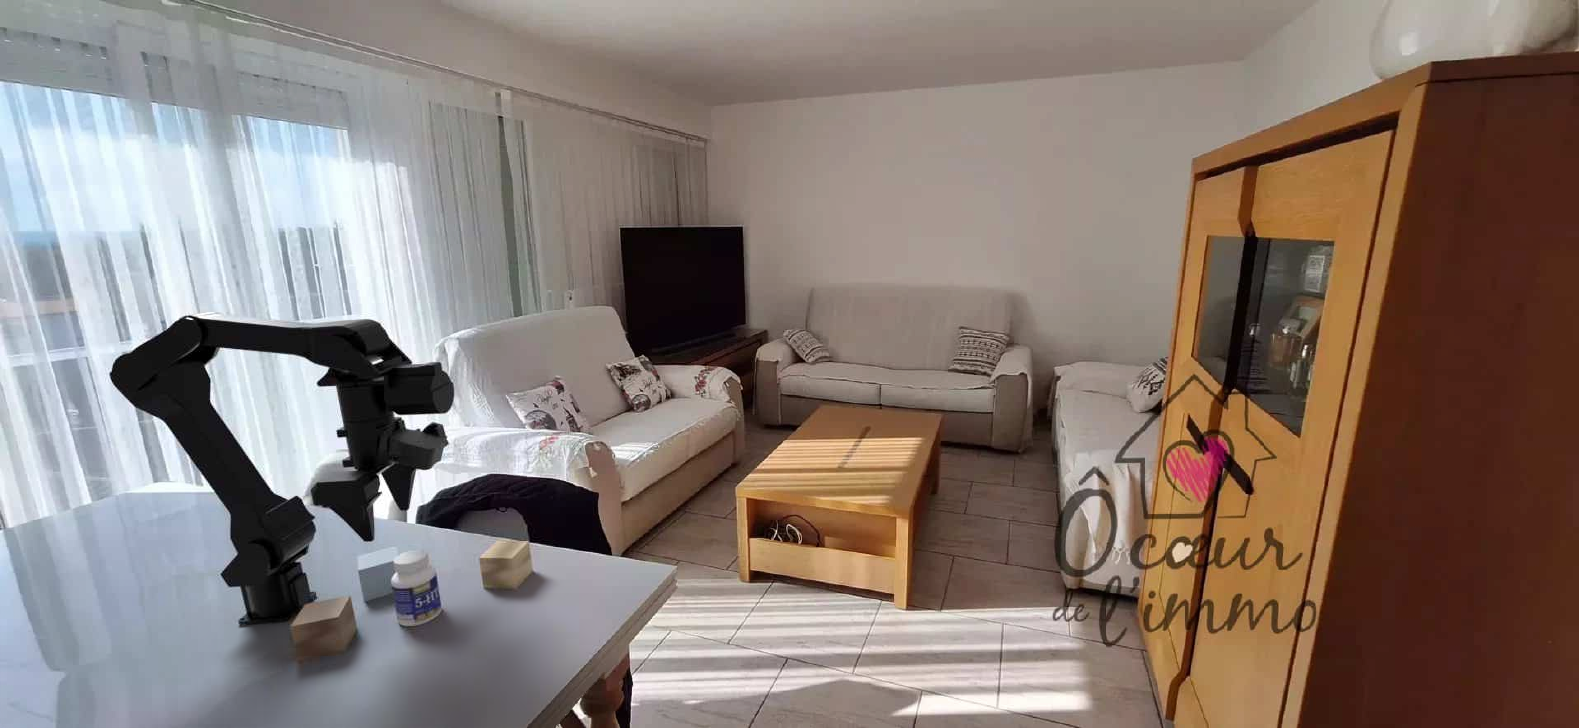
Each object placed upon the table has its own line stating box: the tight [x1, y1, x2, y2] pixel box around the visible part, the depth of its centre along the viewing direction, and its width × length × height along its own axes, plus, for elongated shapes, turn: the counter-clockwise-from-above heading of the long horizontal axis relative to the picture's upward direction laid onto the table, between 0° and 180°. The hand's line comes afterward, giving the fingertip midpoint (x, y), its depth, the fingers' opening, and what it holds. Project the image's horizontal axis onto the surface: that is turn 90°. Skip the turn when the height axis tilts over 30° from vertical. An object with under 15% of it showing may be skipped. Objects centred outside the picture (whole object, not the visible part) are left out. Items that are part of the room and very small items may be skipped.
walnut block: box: [289, 595, 358, 663], centre depth 81 cm, size 5×5×5 cm
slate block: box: [357, 545, 399, 602], centre depth 93 cm, size 5×5×5 cm
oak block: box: [478, 540, 534, 590], centre depth 95 cm, size 5×5×5 cm
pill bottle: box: [391, 548, 443, 627], centre depth 86 cm, size 5×5×9 cm
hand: (388, 524), depth 87 cm, fingers open, 9 cm apart
